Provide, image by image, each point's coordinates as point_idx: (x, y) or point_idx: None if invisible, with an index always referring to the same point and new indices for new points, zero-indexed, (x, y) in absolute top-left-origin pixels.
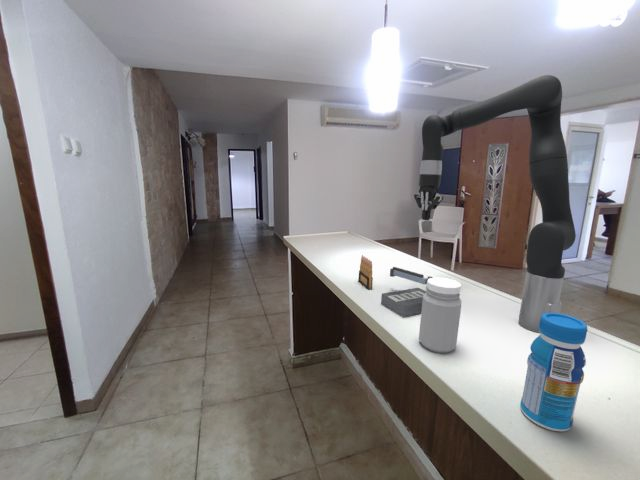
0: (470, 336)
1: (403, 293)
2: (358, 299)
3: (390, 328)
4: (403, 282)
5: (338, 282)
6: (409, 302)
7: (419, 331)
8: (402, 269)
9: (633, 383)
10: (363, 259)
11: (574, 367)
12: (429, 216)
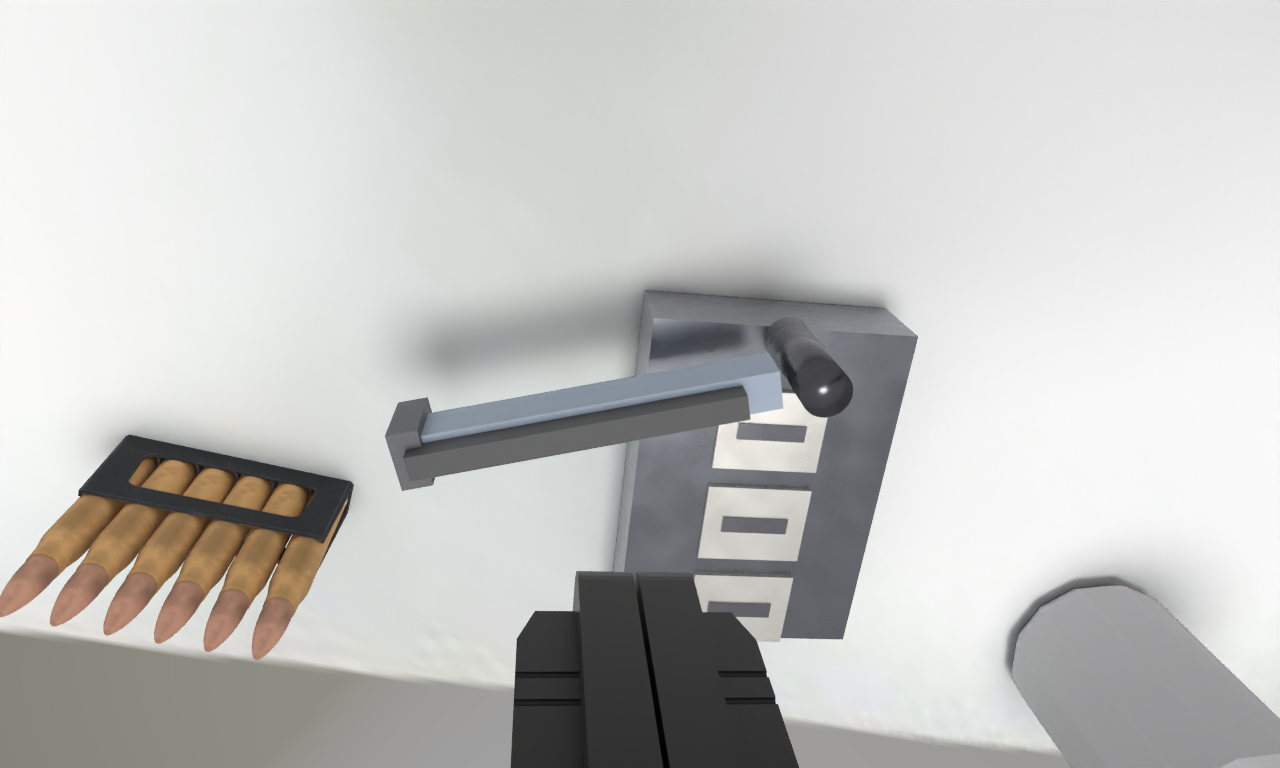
0: (1156, 451)
1: (691, 511)
2: (484, 657)
3: (861, 709)
4: (277, 92)
5: None
6: (823, 581)
7: (1046, 731)
8: (516, 449)
9: None
10: (80, 611)
11: None
12: (757, 691)
